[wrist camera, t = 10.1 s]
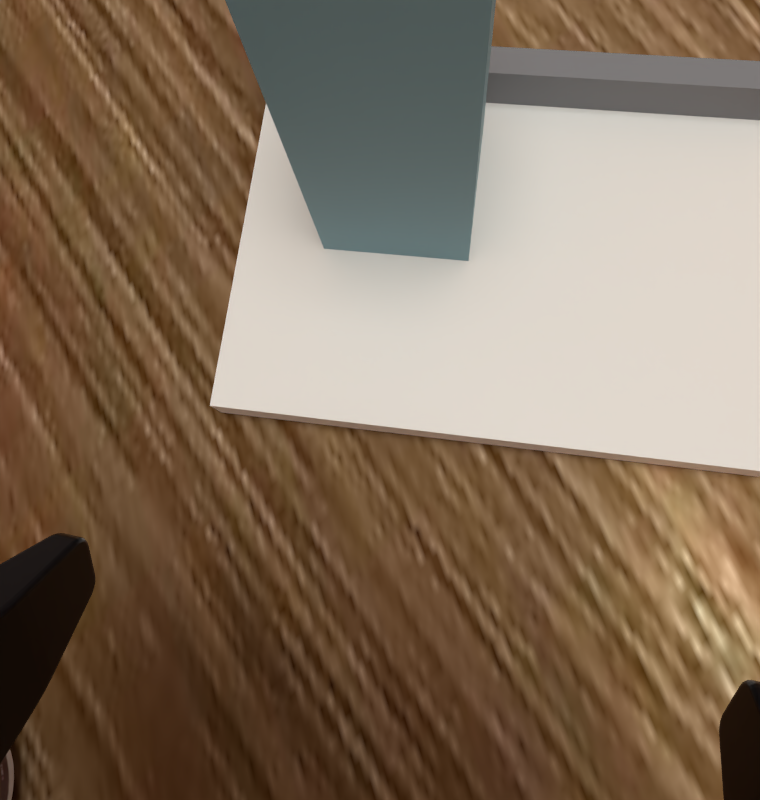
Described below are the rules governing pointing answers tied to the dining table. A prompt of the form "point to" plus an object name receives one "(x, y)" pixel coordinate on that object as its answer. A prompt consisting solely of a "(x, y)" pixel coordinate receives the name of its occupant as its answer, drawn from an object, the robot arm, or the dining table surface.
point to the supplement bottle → (6, 777)
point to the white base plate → (535, 278)
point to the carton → (377, 114)
